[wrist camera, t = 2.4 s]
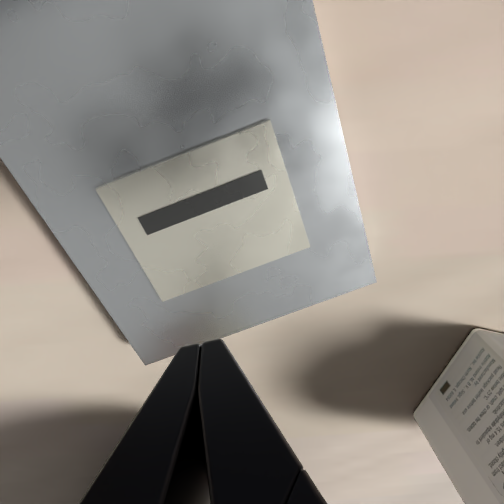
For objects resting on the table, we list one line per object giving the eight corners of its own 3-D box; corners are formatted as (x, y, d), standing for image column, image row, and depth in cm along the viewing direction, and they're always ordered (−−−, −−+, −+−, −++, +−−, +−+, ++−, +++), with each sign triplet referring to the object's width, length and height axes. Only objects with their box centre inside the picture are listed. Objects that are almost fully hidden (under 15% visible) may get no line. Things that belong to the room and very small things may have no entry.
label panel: (142, -655, 8) (126, -834, 6) (364, 266, 19) (378, 285, 17) (-342, -393, 8) (-465, -496, 7) (149, 344, 20) (144, 369, 18)
